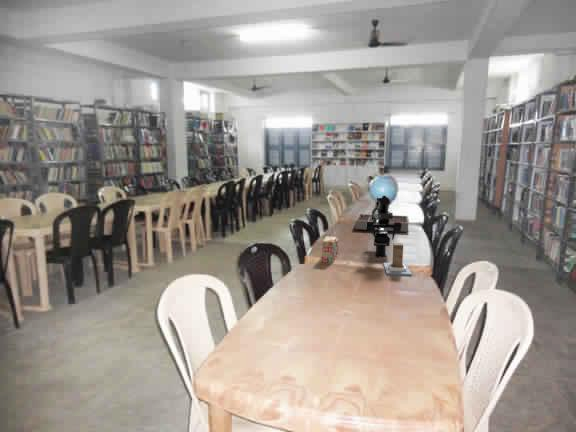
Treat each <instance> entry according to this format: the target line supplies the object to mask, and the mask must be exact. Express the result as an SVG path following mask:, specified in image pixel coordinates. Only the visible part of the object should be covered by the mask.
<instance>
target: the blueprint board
mask: <svg viewBox="0 0 576 432" xmlns="http://www.w3.org/2000/svg"><path fill="white" fill-rule="evenodd" d="M383 267H384V271H385V274H386V275H387V276H401V277H402V276H406V277H407V276H408V277H412V275H413V274H412V272H411V270H410V268H409V266H408V265H407V263H402V268H394V267H392V262H383Z"/></svg>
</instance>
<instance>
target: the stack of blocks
mask: <svg viewBox="0 0 576 432" xmlns="http://www.w3.org/2000/svg"><path fill="white" fill-rule="evenodd" d="M337 254H339V238H338V237H337V236H328V235H326V236H325V238H324V239H323V240H322V261H321V262H322V263H328V264H329V263H331V264H334V262H335V261H336V259H335V258H337V256H338V255H337ZM336 255H337V256H336Z"/></svg>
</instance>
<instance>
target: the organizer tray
mask: <svg viewBox="0 0 576 432" xmlns="http://www.w3.org/2000/svg"><path fill="white" fill-rule="evenodd" d="M367 221H373V220H372V214H367V213H366V214H364V213H362V214H361V212H359V213H358V214H357V216H356V218H355V220H354V222H355V230H364V231H365V230H366V222H367ZM394 222H401V224H402V226H401V231H400V232H404V233H405V232H407V233H408V232H409V224H410V219H409V216H408V215H393V218H392V219H389V224H391V225H393V224H394ZM384 230H387V232H393V228H384ZM366 231H367V230H366ZM375 231H376V228H375Z"/></svg>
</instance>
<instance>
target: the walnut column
mask: <svg viewBox="0 0 576 432" xmlns="http://www.w3.org/2000/svg"><path fill="white" fill-rule="evenodd" d="M403 259H404V244H403V243H401V242H393V244H392V261H391V263H392V267H394V268H402V263H403V261H404V260H403Z"/></svg>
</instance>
